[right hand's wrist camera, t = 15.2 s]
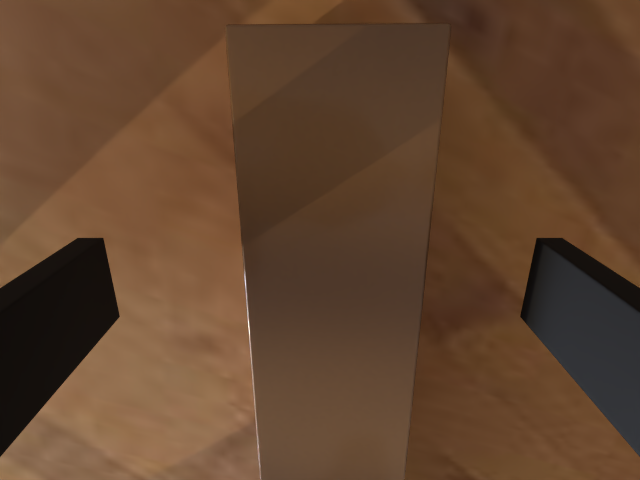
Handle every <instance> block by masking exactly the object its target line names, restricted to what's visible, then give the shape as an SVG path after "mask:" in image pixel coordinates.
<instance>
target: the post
mask: <svg viewBox="0 0 640 480" xmlns="http://www.w3.org/2000/svg"><path fill="white" fill-rule="evenodd" d="M450 34H451V24H449V23H412V24H229V25H226V26H225V35H226V48H227V61H228V74H229V87H230V99H231V112H232V125H233V138H234V151H235V164H236V176H237V189H238V202H239V215H240V228H241V240H242V253H243V266H244V279H245V292H246V304H247V317H248V330H249V343H250V356H251V368H252V381H253V394H254V407H255V420H256V432H257V445H258V458H259V471H260V480H404V479H405V470H406V460H407V450H408V441H409V431H410V421H411V412H412V402H413V392H414V383H415V373H416V363H417V354H418V344H419V334H420V325H421V315H422V305H423V296H424V286H425V276H426V267H427V257H428V247H429V237H430V228H431V218H432V208H433V199H434V189H435V179H436V170H437V160H438V150H439V141H440V131H441V121H442V112H443V102H444V92H445V83H446V73H447V63H448V54H449V44H450Z"/></svg>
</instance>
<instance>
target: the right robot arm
mask: <svg viewBox="0 0 640 480" xmlns="http://www.w3.org/2000/svg"><path fill="white" fill-rule="evenodd" d="M119 317H120V316H119V311H118V306H117V301H116V297H115V292H114V287H113V282H112V278H111V273H110V268H109V263H108V259H107V254H106V249H105V244H104V239H103V238H77V239H76V240H74V241H73V242H71V243H69V244H68V245H66V246H65V247H63V248H62V249H60V250H59V251H57V252H56V253H54V254H52V255H51V256H49V257H48V258H46V259H45V260H43V261H42V262H40V263H39V264H37V265H35V266H34V267H32V268H31V269H29V270H28V271H26V272H25V273H23V274H22V275H20V276H18V277H17V278H15V279H14V280H12V281H11V282H9V283H8V284H6V285H5V286H3V287H1V288H0V456H1V455H2V454H3V453H4V452H5V451H6V449H7V448H8V447H9V446H10V445H11V444H12V442H13V441H14V440H15V439H16V438H17V436H18V435H19V434H20V433H21V432H22V431H23V429H24V428H25V427H26V426H27V425H28V424H29V422H30V421H31V420H32V419H33V418H34V417H35V415H36V414H37V413H38V412H39V411H40V409H41V408H42V407H43V406H44V405H45V404H46V402H47V401H48V400H49V399H50V398H51V397H52V395H53V394H54V393H55V392H56V391H57V390H58V388H59V387H60V386H61V385H62V384H63V383H64V381H65V380H66V379H67V378H68V377H69V375H70V374H71V373H72V372H73V371H74V370H75V368H76V367H77V366H78V365H79V364H80V363H81V361H82V360H83V359H84V358H85V357H86V356H87V354H88V353H89V352H90V351H91V350H92V348H93V347H94V346H95V345H96V344H97V343H98V341H99V340H100V339H101V338H102V337H103V336H104V334H105V333H106V332H107V331H108V330H109V329H110V327H111V326H112V325H113V324H114V323H115V321H116V320H117V319H118V318H119ZM520 317H521V318H522V319H523V320H524V321H525V323H526V324H527V325H528V326H529V327H530V329H531V330H532V331H533V332H534V333H535V334H536V336H537V337H538V338H539V339H540V340H541V341H542V343H543V344H544V345H545V346H546V347H547V348H548V350H549V351H550V352H551V353H552V354H553V356H554V357H555V358H556V359H557V360H558V361H559V363H560V364H561V365H562V366H563V367H564V368H565V370H566V371H567V372H568V373H569V374H570V375H571V377H572V378H573V379H574V380H575V381H576V383H577V384H578V385H579V386H580V387H581V388H582V390H583V391H584V392H585V393H586V394H587V395H588V397H589V398H590V399H591V400H592V401H593V402H594V404H595V405H596V406H597V407H598V408H599V409H600V411H601V412H602V413H603V414H604V415H605V417H606V418H607V419H608V420H609V421H610V422H611V424H612V425H613V426H614V427H615V428H616V429H617V431H618V432H619V433H620V434H621V435H622V436H623V438H624V439H625V440H626V441H627V442H628V444H629V445H630V446H631V447H632V448H633V449H634V451H635V452H636V453H637V454H638V455H639V456H640V288H639V287H637V286H635V285H634V284H632V283H631V282H629V281H628V280H626V279H625V278H623V277H622V276H620V275H618V274H617V273H615V272H614V271H612V270H611V269H609V268H608V267H606V266H605V265H603V264H601V263H600V262H598V261H597V260H595V259H594V258H592V257H591V256H589V255H588V254H586V253H584V252H583V251H581V250H580V249H578V248H577V247H575V246H574V245H572V244H571V243H569V242H567V241H566V240H564V239H563V238H537V239H536V244H535V249H534V254H533V259H532V263H531V268H530V273H529V278H528V282H527V287H526V292H525V297H524V301H523V306H522V311H521V316H520Z"/></svg>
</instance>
